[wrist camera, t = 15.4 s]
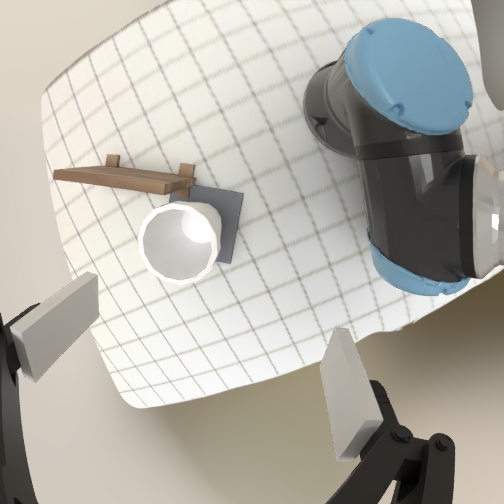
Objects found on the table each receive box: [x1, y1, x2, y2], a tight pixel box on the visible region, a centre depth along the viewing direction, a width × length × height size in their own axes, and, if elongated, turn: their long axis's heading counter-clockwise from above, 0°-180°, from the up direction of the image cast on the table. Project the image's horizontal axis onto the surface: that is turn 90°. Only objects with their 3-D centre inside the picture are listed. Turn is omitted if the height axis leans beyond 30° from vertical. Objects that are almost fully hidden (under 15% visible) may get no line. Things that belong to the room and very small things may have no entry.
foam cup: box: [138, 201, 222, 285], centre depth 39 cm, size 10×9×13 cm
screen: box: [53, 155, 196, 198], centre depth 37 cm, size 5×16×14 cm, turn 79°
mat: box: [169, 185, 243, 264], centre depth 45 cm, size 11×11×1 cm
